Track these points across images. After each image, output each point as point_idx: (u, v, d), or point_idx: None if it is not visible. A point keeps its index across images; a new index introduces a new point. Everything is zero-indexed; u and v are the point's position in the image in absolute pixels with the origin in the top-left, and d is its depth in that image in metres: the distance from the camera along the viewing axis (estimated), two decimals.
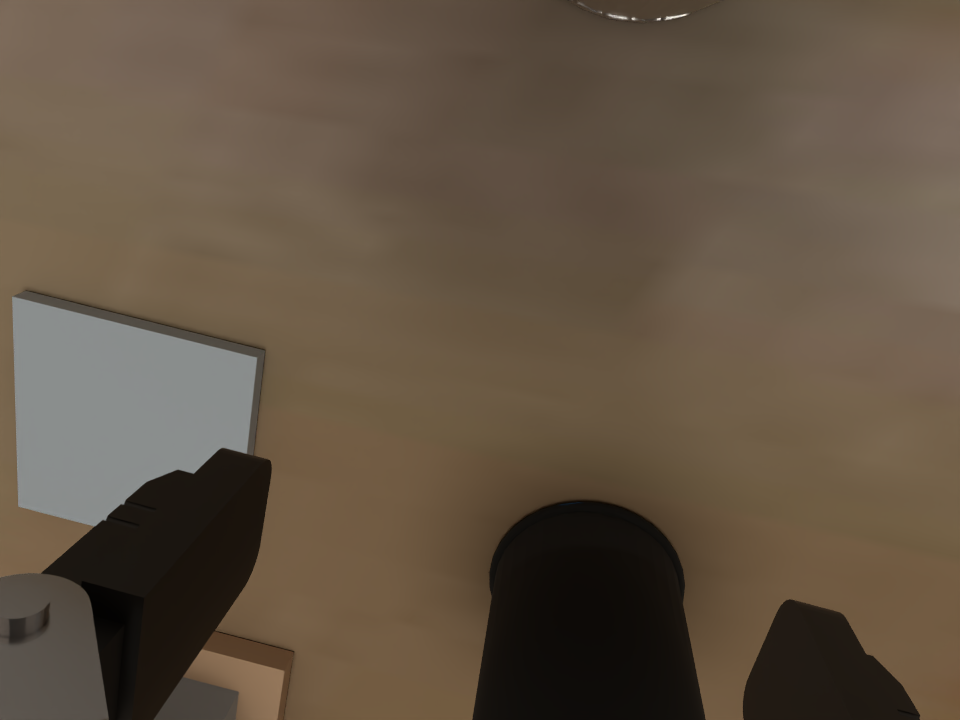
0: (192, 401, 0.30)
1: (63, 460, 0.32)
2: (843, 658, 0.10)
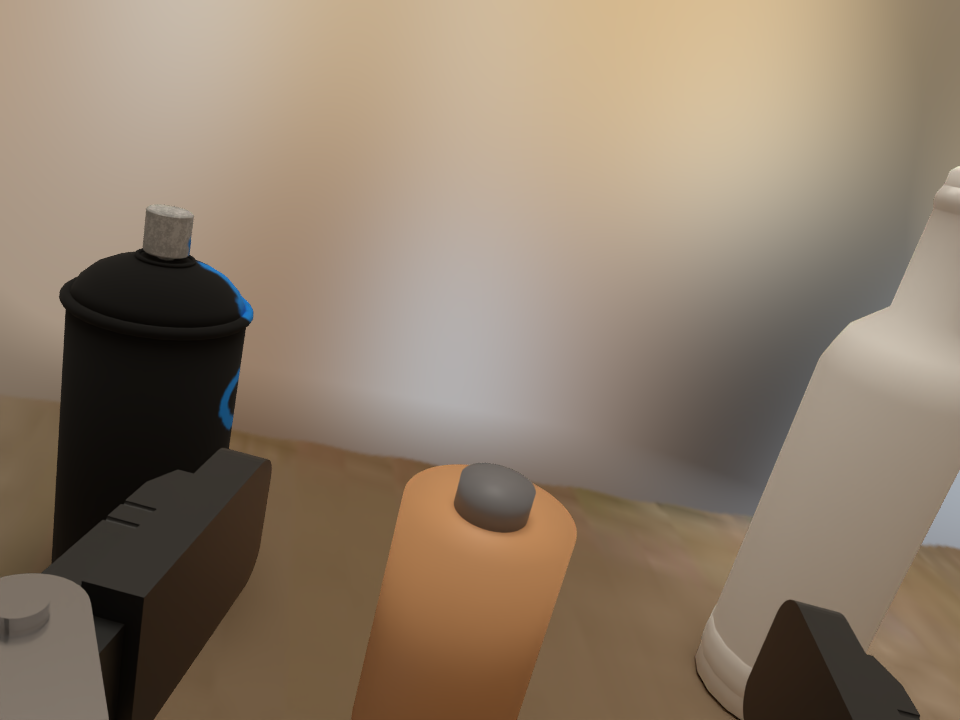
0: None
1: None
2: (843, 658, 0.10)
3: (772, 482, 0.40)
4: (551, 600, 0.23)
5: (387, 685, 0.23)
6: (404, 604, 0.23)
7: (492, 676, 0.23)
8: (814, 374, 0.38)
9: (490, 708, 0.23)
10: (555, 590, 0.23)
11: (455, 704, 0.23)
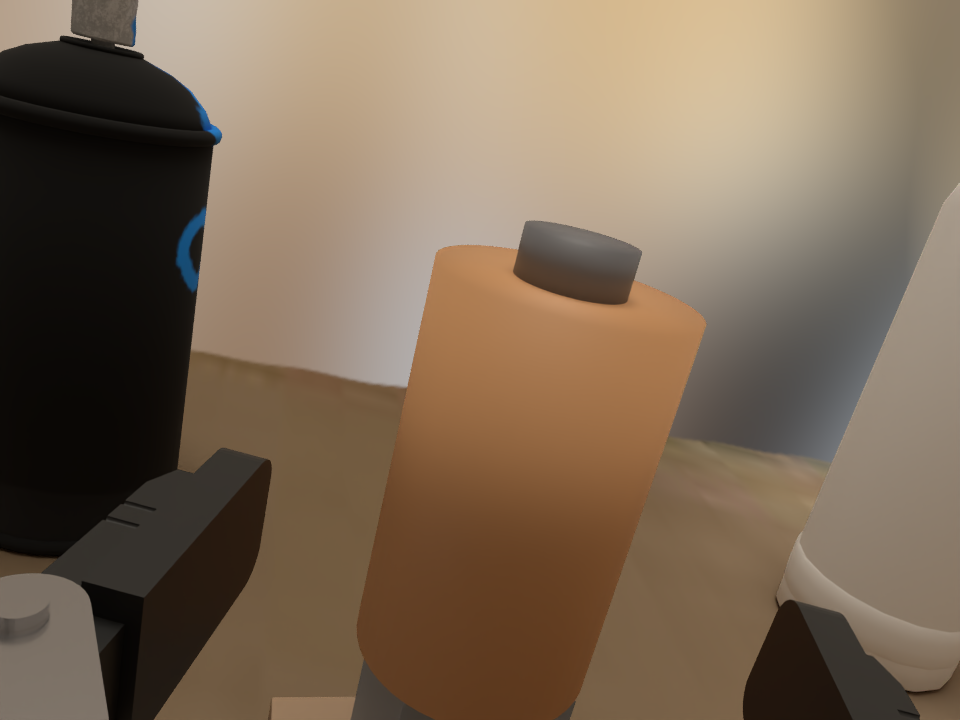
0: None
1: None
2: (843, 657, 0.10)
3: (883, 365, 0.32)
4: (671, 414, 0.15)
5: (413, 556, 0.15)
6: (440, 418, 0.14)
7: (581, 531, 0.14)
8: (939, 221, 0.30)
9: (575, 588, 0.15)
10: (677, 397, 0.14)
11: (522, 579, 0.14)
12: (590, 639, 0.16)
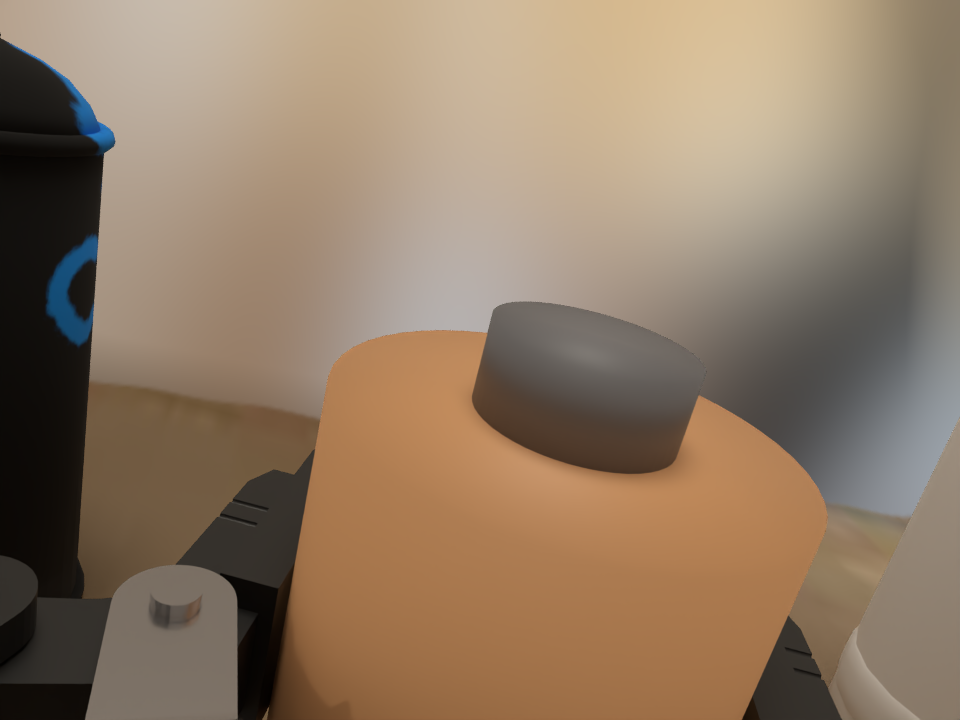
0: None
1: None
2: None
3: None
4: (761, 674, 0.08)
5: None
6: (325, 690, 0.07)
7: None
8: None
9: None
10: (774, 645, 0.08)
11: None
12: None
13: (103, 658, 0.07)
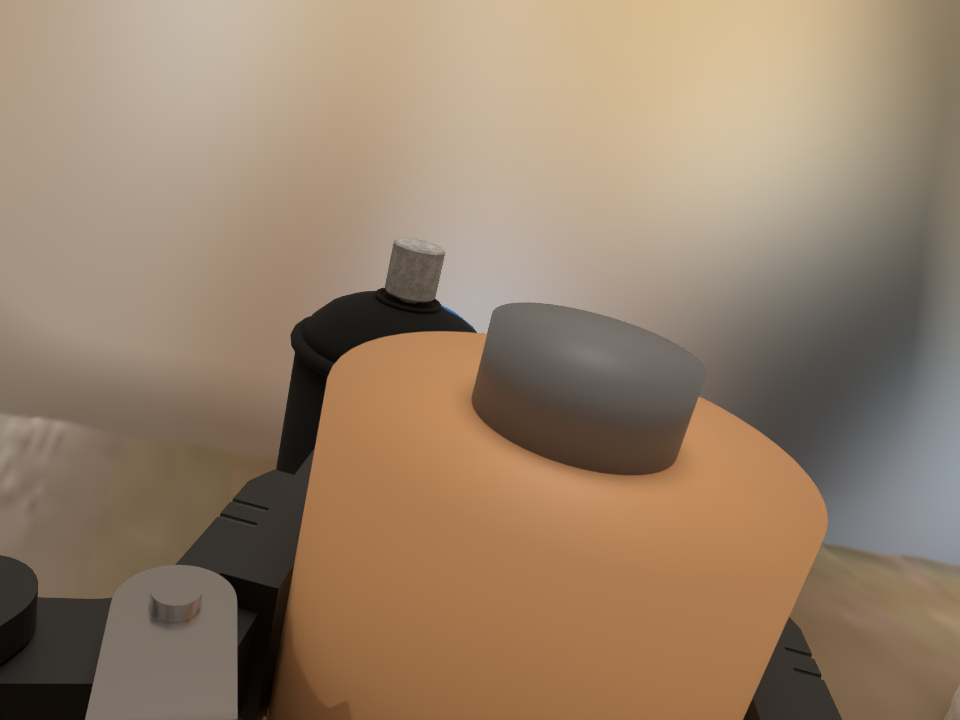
0: None
1: None
2: None
3: None
4: (761, 676, 0.08)
5: None
6: (325, 693, 0.07)
7: None
8: None
9: None
10: (774, 647, 0.08)
11: None
12: None
13: (103, 658, 0.07)
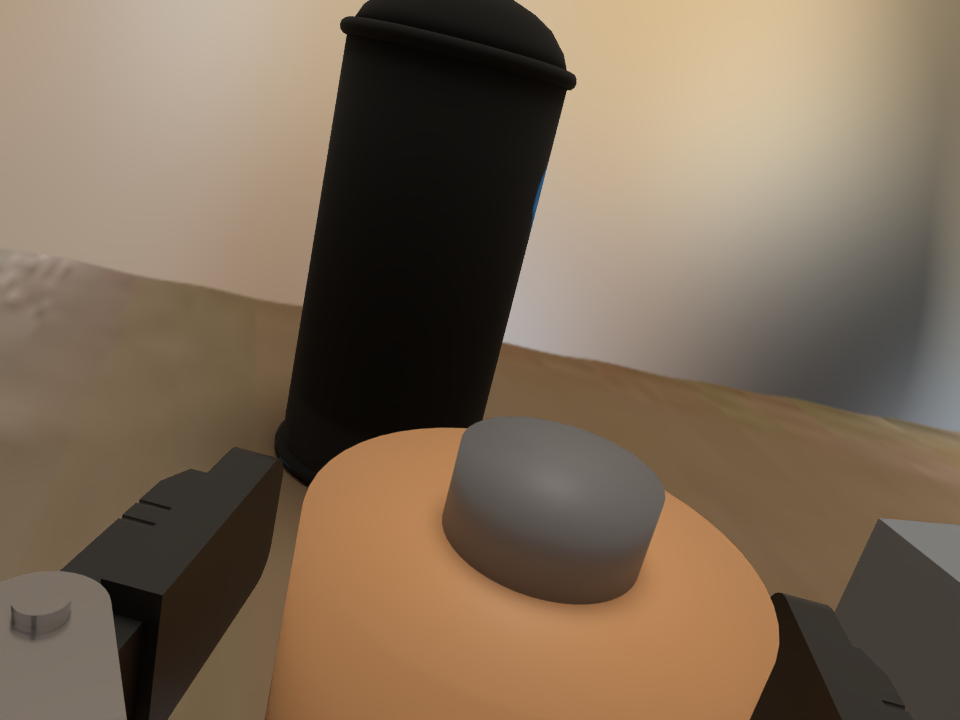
0: None
1: None
2: (830, 650, 0.10)
3: None
4: None
5: None
6: None
7: None
8: None
9: None
10: None
11: None
12: None
13: None
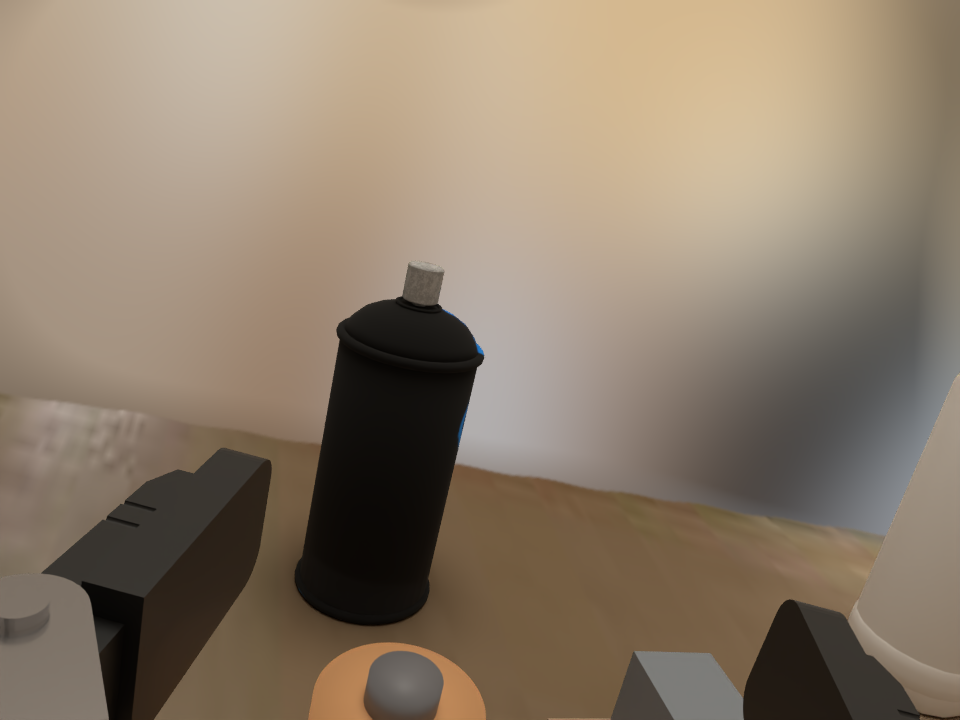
0: None
1: None
2: (844, 658, 0.10)
3: (915, 489, 0.46)
4: None
5: None
6: None
7: None
8: (952, 394, 0.45)
9: None
10: None
11: None
12: None
13: None
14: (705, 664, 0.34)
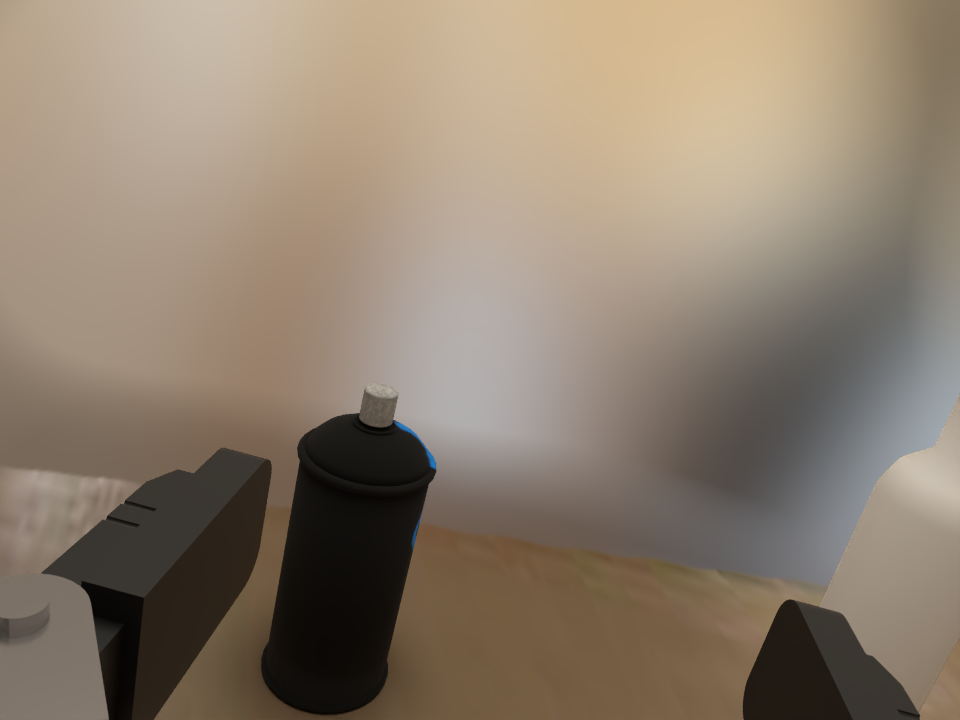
0: None
1: None
2: (844, 658, 0.10)
3: (838, 581, 0.50)
4: None
5: None
6: None
7: None
8: (873, 498, 0.48)
9: None
10: None
11: None
12: None
13: None
14: None
